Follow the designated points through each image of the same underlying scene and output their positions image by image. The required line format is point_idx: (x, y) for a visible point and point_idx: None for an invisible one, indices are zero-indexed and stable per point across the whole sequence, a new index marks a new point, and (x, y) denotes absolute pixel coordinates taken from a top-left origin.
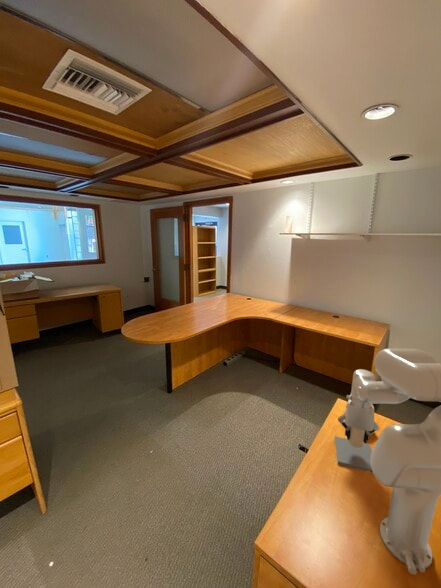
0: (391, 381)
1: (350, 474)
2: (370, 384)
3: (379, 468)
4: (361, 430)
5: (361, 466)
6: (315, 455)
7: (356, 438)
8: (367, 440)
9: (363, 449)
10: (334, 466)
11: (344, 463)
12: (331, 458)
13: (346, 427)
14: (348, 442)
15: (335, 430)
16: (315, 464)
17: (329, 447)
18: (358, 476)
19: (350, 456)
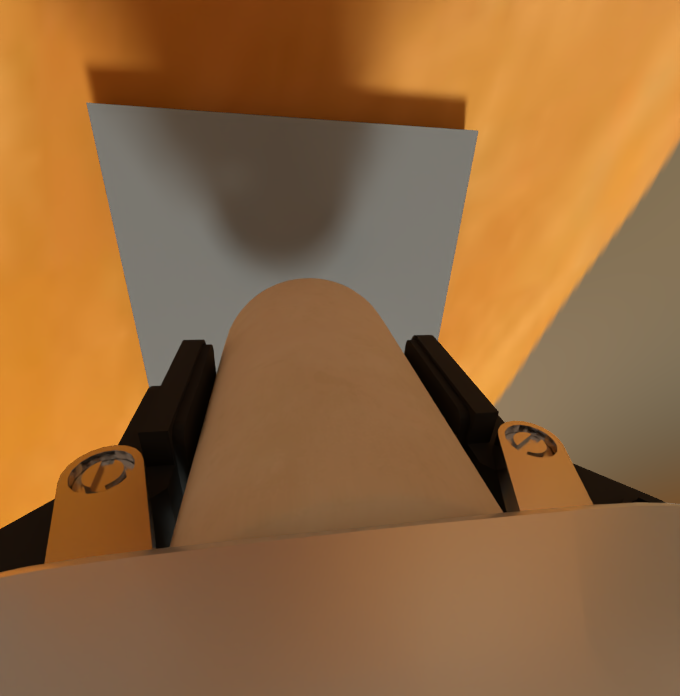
0: None
1: (376, 9)
2: None
3: None
4: (284, 497)
5: (257, 126)
6: (624, 175)
7: (346, 333)
8: (158, 386)
9: (216, 358)
10: (504, 83)
11: (417, 126)
12: (500, 183)
13: (571, 474)
14: None
15: None
16: (670, 54)
17: (479, 304)
18: (298, 3)
19: (344, 236)
